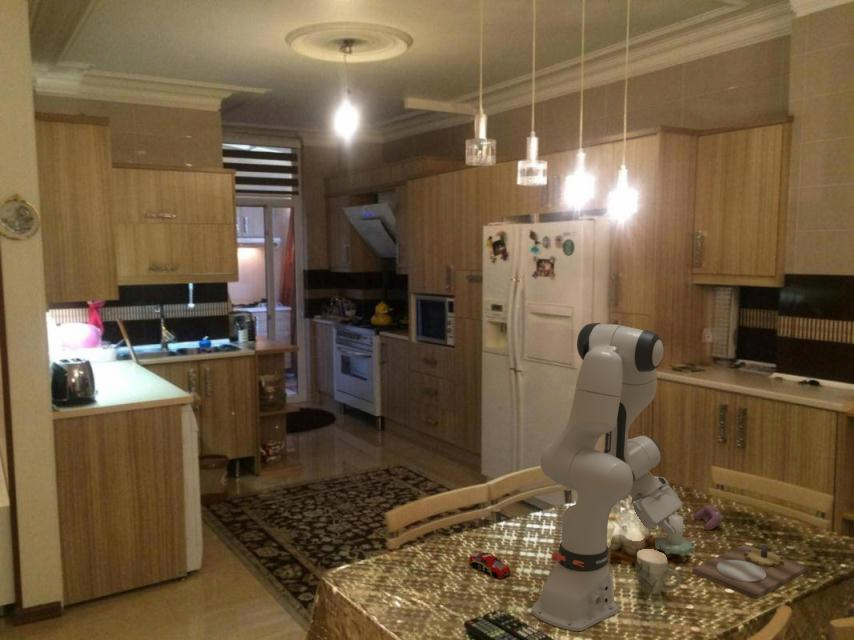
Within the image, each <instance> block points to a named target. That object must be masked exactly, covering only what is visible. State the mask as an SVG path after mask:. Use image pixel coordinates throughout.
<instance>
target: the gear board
mask: <svg viewBox="0 0 854 640" xmlns="http://www.w3.org/2000/svg"><path fill="white" fill-rule="evenodd" d="M768 548H769V546H768V545H767V544H766V545H765V544H761V545H760V548H757V547H754V546H750V545H748V544H743V545H741V546H738V547H735V548H734V549H732V550H730V551H728V552H725V553H723V554H720V555H719V556H717V557H714V558H712V559H710V560H708V561H706V562H703V563H701V564H699V565H697V566H695V567H692V571H691V572H692V574H694V575H696V576H698V577H699V576H700V577H702V578H704V579H707V580H708V581H711V582H713V581H714V583H716V582H717V584H718V583H719V585H721V584H722V585H721V586H723V585H724V586H723V587H726V588H728V587H729V588H728V589H730V588H731V590H734V591H735V592H737V593H740V594H743V595H745V594H746V595H745V596H747V597H750V598H753V599H755V600H757V599H759V598H761V597H763V596H765V595H767V594H768V593H770V592H772V591H774V590H776V589H777V588H779V587H781V586H784V585H785V584H786V583H788V582H790V581H792V580H793V579H795V578H797V577H799V576H801V575H803V574H804V573H806V572H807V571H808V569H809V567H808V566H807V565H806V564H802V563H799V562H796V561H794V560H791V559H788V558H786V557H784V556H782V555H778V554H776V552H775V551H772V550H771V551H769V550H768Z"/></svg>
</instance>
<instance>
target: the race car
mask: <svg viewBox="0 0 854 640" xmlns="http://www.w3.org/2000/svg"><path fill="white" fill-rule="evenodd" d="M501 560H502V559H501V558H498V557H497V556H495V555H493V554H491V553H488V552H486V551H485V552H483V551H482V552H481V551H478V552H477V551H476V552H474V553H472V554H470V557H469V560H468V564H469V565H470V566H471V567H472V568H473V569H475V570H478V571H480V572H483V573H485V574H487V575H489V576H490V577H491V576H492V578H495V579H497V580H498V579H504V578H508V577H510V575H511V568H510V566H508V565H507V564H506V563H505V562H503V561H501Z"/></svg>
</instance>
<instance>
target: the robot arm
mask: <svg viewBox="0 0 854 640" xmlns="http://www.w3.org/2000/svg"><path fill="white" fill-rule="evenodd" d="M576 350H577V352H578V355H579V357H580V359H581V360H582V363H581V365H580V368H579V371H578V375H577V380H576V384H575V390H574V396H573V401H572V404H571V410H570V414H569V418H568V420H567V421H568V422H567V423H566V425H565V427H564V428H563V431H562V432H561V433H560V435H558V437H557V438H556V439H555V440H554V441H552V442H550V443H548V444H547V445H546V447H545V448H544V449H543V451H542V453H541V456H540V468H541V471H542V473H543V474H544V475H545V476H546V477H548V479H550V480H551V481H552V482H554V483H555V484H557V485H559V486H562V487H565V488H568V489H571V490H573V491H575V492H576V493H577V499H576V503H575V504H573V505H570V506H569V507H567V508H566V509H565V510H564V511H563V513H562V515H561V541H560V543H559V547H558V550H557V551H553V553H552V555H551V559H552V561H554V562H555V561H556V563H555V565H554V566H553V568H552V569H551V572H550V573H549V575H548V577H547V579H546V581H545V582H544V585H543V587H542V589H541V595H540V597H539V598H538V600H537V601H536V602H535V603H534V604H533V605H532V607H531V609H530V612H531V614H532V615H533V616H534V617H535V618H537V619H539V620H541V621H542V622H544V623H547V624H549V625H551V626H554V627H556V628H557V627H558V628H561V629H564V630H568V631H574V632H582V631H584V630H587V629H588V628H590V627H592V626H594V625H596V624H598V623H600V622H602V621H604V620H606V619H608V618H610V617H611V616H613V615H615V614H617V613H619V612H620V610H619V606H618V604H617V603H616V602H615V592H614V591H615V590H614V577H613V575H612V572H611V571H610V568H609V566H608V564H609V557H610V552H609V546H608V543H607V542H608V541H607V540H608V526H609V525H608V523H609V519H610V514H611V512H612V509H614V507H615V505H617V503H619V502H620V501H622V500H624V499H625V498H626V497H628V495H629V497H630V496H631V497H632V504H633V506H634V510H635V512H636V514H637V516H638V517H639V519H640V520H641V522H642V523H643V525H644V526H645V527H646V528H645V529H648V530H651V529H653V528H652V527H653V526H655V525H656V526H657V525H658V526H659V528H660V529H662V530H664V531H665V532H666V533H667V535H668V534H669V535H670V536H672V535H673V534H675V533H676V530H675V529H674V528H673V527H671V526H670V525H668V520H667V519H666V518H668V516H669V515H671V514H675V515H679V514H678V513H677V512H676V511H678V510H679V509H681V508H682V507H683V503H682V501H681V499H680V498H679V496H678V495H677V494H676V492H675V491H674V490H673V488H672V487H671V486H670V485H669V484H668V480H667V479H666V478H665V477H662V476H656V475H653V474H652V472H651V470H652V469H654V468H655V467H656V466H657V465H659V464H660V462H661V460H662V450H661V448H660V446H659V444H658V443H657V442H656V441H655V440H654V439H653V438H651V437H650V436H647V435H641V434H640V435H639V436H636V437H632V438H629V430H630V428H631V425H632V424H633V422H634V421H635V419H636V418H637V417H638V416H639V415H640V414H641V413H642V412H643V411H644V410H645V409H646V408H647V407H648V406H649V405H650V404H651V403H652V401H653V400H654V399H655V397H656V392H657V390H658V389H657V388H658V378H657V377H658V376H657V375H658V373H657V368H658V367H660V365H661V363H662V361H663V357H664V350H665V349H664V341H663V339H662V337H660V335H659V334H658V333H656V332H654V331H651V330H648V329H644V330H642V329H639V328H636V327H631V326H630V327H629V326H625V325H624V324H623V325H622V324H613V323H609V324H608V323H600V322H591V323H588V324H586V325H584V326H583V327H582V328H581V329H580V331H579V333H578V335H577V340H576ZM603 435H605V437H604V439H605V441H604V450H603V451H600V450H597V449H595V448H596V445H597V443H598V440H599V439H600V438H601V437H602V436H603ZM634 501H635V502H634Z"/></svg>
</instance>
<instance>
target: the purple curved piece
mask: <svg viewBox="0 0 854 640" xmlns="http://www.w3.org/2000/svg"><path fill="white" fill-rule="evenodd" d="M693 519H694V520H695V521H700V520H702V519H704V522H705V523H704V525H703V528H704V530H705V531H711V530H713V529H715V528H716V527H717V526H719V525H720V524H721V523H722V521H723V515H722V514H721V512H720V510H719V509H718V508H717V507H716V506H713V505H708V504H706V505H704V506H702V508H701V509H700V510H698V511H697V512H696V513H694V514H693Z"/></svg>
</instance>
